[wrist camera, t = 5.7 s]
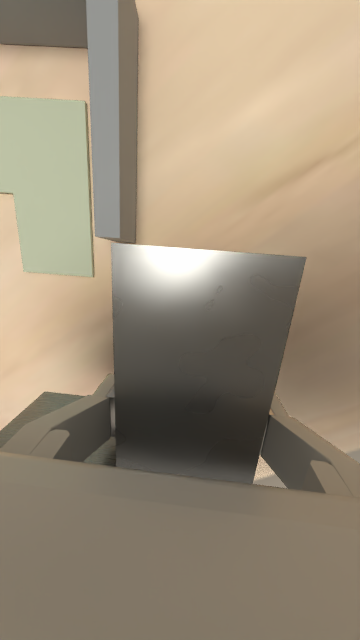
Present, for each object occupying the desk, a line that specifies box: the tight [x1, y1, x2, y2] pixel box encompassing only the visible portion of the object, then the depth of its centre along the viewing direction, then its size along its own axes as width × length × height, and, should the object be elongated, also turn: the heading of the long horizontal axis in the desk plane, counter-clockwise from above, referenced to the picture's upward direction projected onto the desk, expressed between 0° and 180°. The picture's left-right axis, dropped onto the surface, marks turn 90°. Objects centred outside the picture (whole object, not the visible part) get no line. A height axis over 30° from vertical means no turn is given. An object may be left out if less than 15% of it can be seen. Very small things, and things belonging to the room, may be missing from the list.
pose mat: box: [0, 96, 94, 277], centre depth 16 cm, size 14×12×1 cm
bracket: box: [0, 243, 306, 484], centre depth 9 cm, size 10×12×5 cm
